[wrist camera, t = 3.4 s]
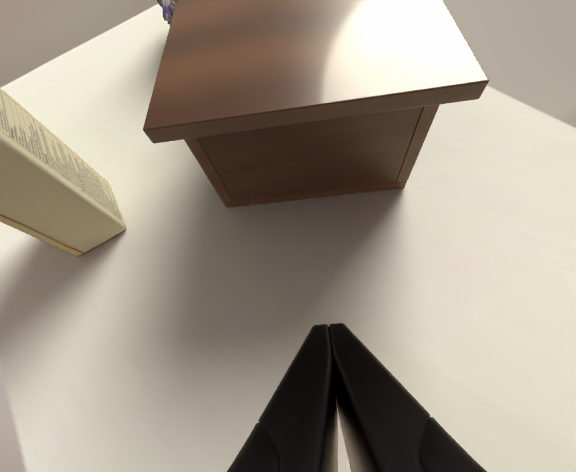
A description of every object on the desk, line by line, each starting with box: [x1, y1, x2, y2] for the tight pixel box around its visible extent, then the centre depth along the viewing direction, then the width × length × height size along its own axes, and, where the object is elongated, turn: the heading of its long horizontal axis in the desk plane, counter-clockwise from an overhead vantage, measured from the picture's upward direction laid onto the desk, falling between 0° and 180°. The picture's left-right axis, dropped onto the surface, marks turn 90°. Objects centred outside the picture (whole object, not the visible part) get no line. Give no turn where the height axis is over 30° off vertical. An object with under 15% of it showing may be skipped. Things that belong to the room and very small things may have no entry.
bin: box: [184, 104, 440, 207], centre depth 19 cm, size 9×14×9 cm, turn 93°
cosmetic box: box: [0, 88, 126, 256], centre depth 17 cm, size 6×4×12 cm
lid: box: [143, 0, 489, 143], centre depth 14 cm, size 12×14×1 cm
